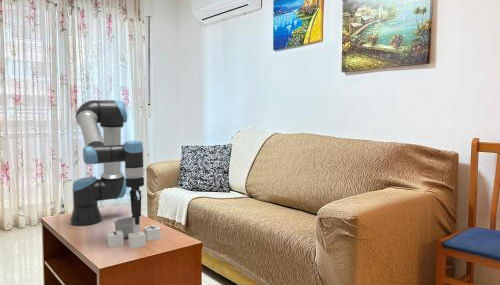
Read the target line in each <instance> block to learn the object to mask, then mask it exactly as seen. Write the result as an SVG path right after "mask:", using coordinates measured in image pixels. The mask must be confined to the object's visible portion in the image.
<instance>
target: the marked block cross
mask: <svg viewBox="0 0 500 285" xmlns="http://www.w3.org/2000/svg"><path fill="white" fill-rule="evenodd" d="M143 233H144V234H145V235H146V242H151V241H156V240H161V239H162V236H161V235H162V234H161V233H162V232H161V227H160V226H159V225H157V224H155V225H148V226H144V227H143Z"/></svg>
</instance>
